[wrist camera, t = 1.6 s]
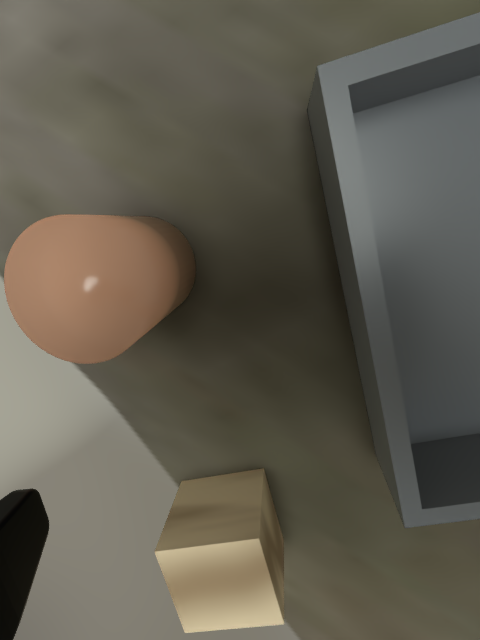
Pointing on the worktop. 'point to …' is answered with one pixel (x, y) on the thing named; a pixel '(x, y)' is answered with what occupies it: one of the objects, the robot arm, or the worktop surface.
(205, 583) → the beech cube
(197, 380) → the worktop surface
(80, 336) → the terracotta cylinder
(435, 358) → the tote
